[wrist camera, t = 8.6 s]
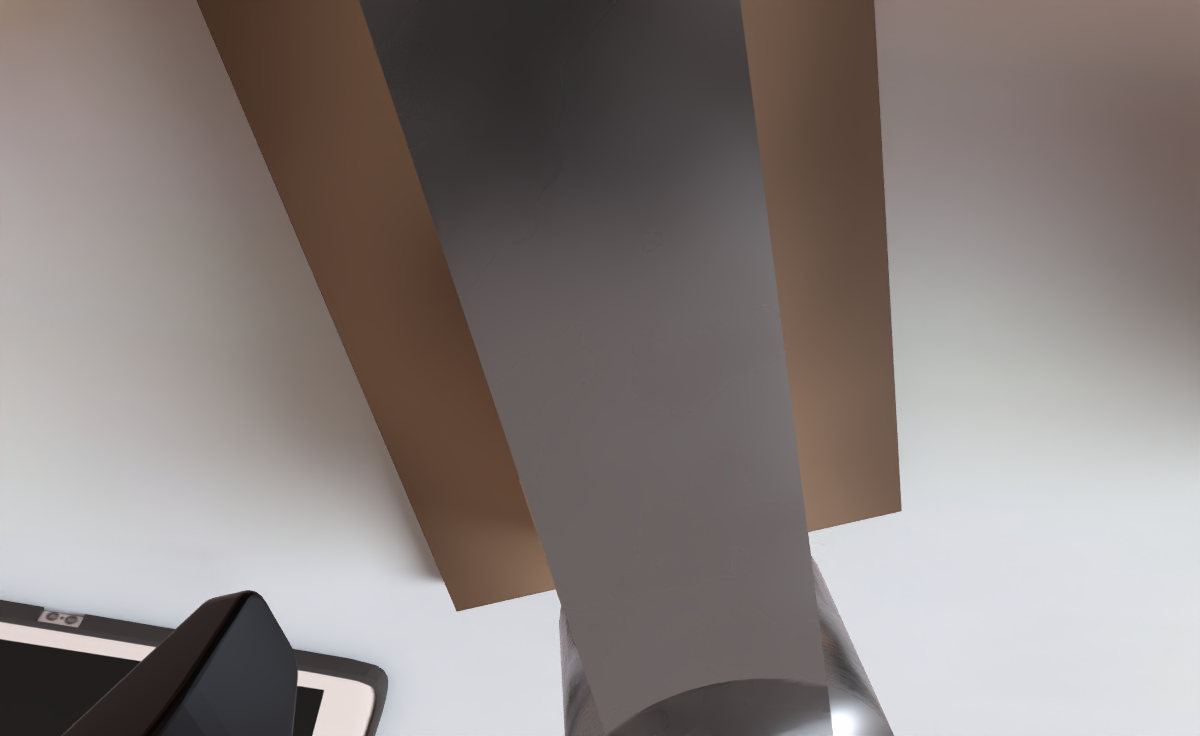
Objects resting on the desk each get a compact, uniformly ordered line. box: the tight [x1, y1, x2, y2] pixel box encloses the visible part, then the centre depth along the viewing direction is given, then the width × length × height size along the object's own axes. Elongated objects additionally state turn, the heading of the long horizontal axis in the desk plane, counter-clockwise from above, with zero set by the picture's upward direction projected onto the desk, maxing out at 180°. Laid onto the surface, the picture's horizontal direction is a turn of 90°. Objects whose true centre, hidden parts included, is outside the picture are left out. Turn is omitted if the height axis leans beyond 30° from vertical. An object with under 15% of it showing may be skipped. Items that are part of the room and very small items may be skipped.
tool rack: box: [197, 0, 901, 611], centre depth 15 cm, size 12×22×5 cm, turn 13°
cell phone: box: [0, 600, 388, 736], centre depth 24 cm, size 8×15×1 cm, turn 71°
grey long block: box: [359, 0, 894, 736], centre depth 11 cm, size 24×6×4 cm, turn 13°
